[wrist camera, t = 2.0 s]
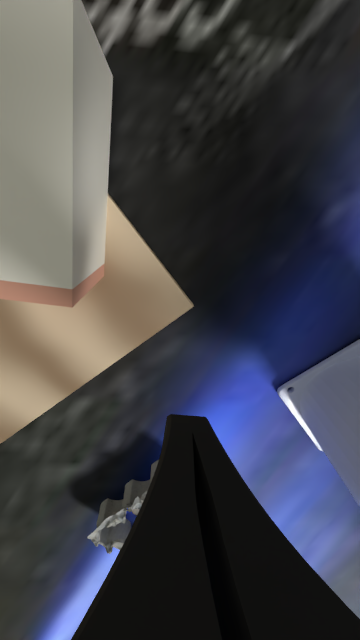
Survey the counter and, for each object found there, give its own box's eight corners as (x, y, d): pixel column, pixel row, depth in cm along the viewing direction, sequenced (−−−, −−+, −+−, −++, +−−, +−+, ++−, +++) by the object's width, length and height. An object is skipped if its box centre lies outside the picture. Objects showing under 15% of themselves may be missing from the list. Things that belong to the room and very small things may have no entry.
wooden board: (35, 98, 14) (29, 93, 13) (193, 303, 18) (193, 306, 18) (-178, 318, 18) (-189, 321, 17) (-5, 444, 22) (-9, 449, 22)
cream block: (103, 276, 17) (113, 76, 13) (72, 307, 11) (73, -20, 8) (29, 266, 17) (17, 57, 13) (-42, 293, 11) (-97, -59, 7)
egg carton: (141, 538, 28) (137, 589, 24) (87, 502, 26) (72, 553, 22) (223, 489, 26) (232, 537, 22) (171, 445, 24) (172, 490, 20)
